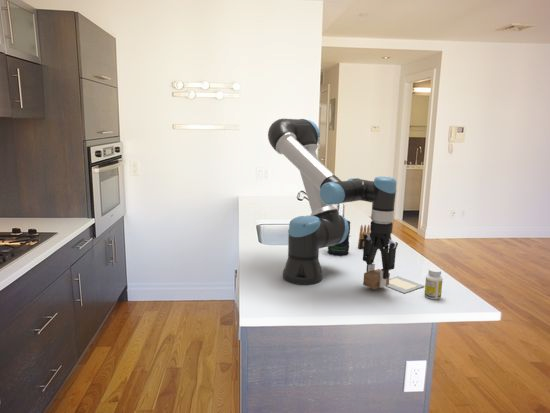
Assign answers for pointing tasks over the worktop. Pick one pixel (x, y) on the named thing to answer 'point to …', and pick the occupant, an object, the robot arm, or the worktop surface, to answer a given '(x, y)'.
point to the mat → (403, 285)
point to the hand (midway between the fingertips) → (376, 283)
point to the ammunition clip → (361, 236)
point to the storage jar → (340, 246)
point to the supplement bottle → (433, 284)
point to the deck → (373, 279)
